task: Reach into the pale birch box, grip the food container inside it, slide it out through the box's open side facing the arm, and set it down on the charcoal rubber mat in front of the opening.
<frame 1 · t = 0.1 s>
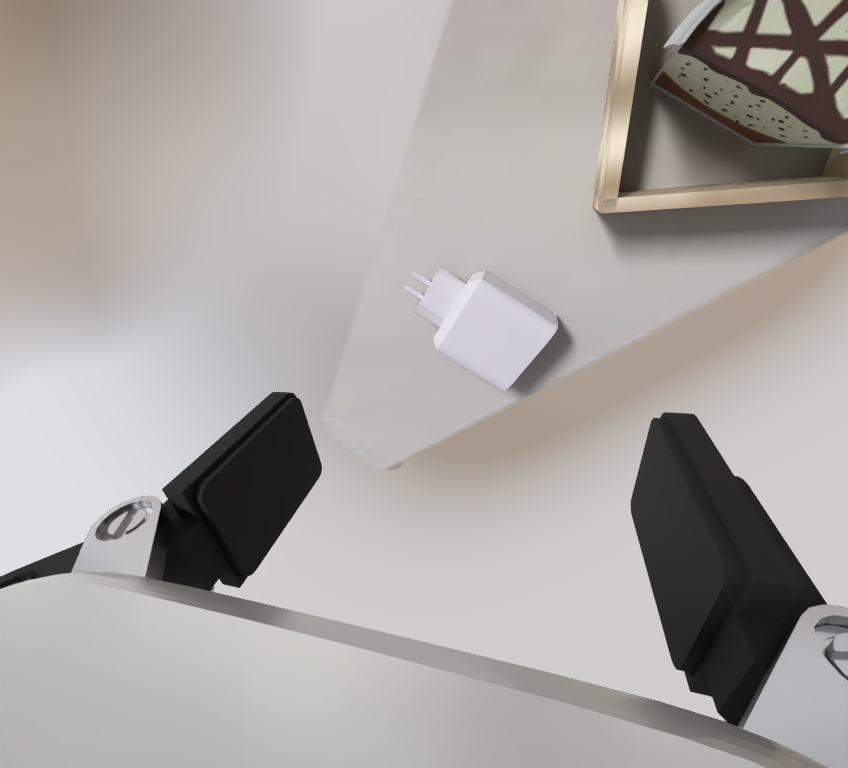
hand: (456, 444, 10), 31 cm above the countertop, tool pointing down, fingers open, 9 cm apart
food container: (736, 67, 26), on the countertop
charger: (473, 309, 41), on the countertop
open box: (734, 80, 26), on the countertop
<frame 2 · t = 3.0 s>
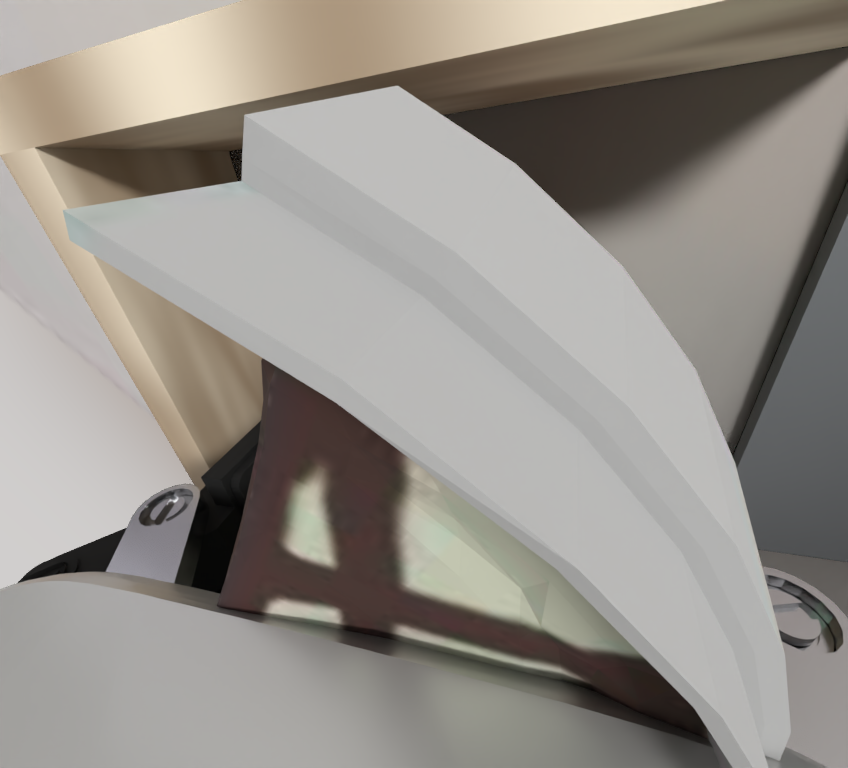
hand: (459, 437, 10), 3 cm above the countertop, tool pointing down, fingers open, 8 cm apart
food container: (490, 379, 13), on the countertop, touching gripper
open box: (468, 380, 13), on the countertop
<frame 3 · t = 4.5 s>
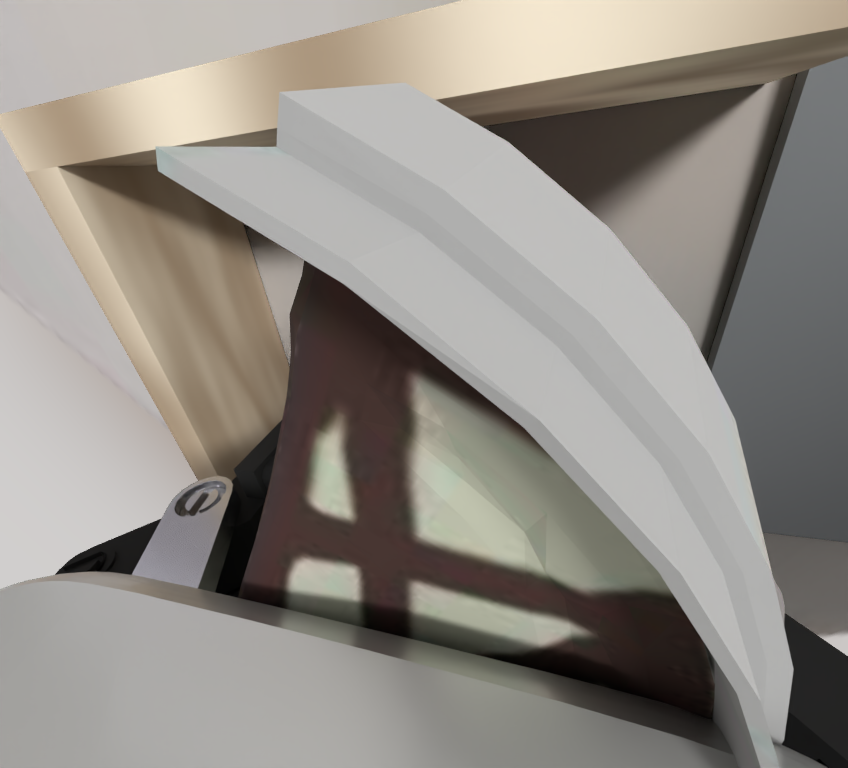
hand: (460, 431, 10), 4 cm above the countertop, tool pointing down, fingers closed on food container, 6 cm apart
food container: (510, 382, 13), on the countertop, touching gripper
open box: (445, 374, 14), on the countertop
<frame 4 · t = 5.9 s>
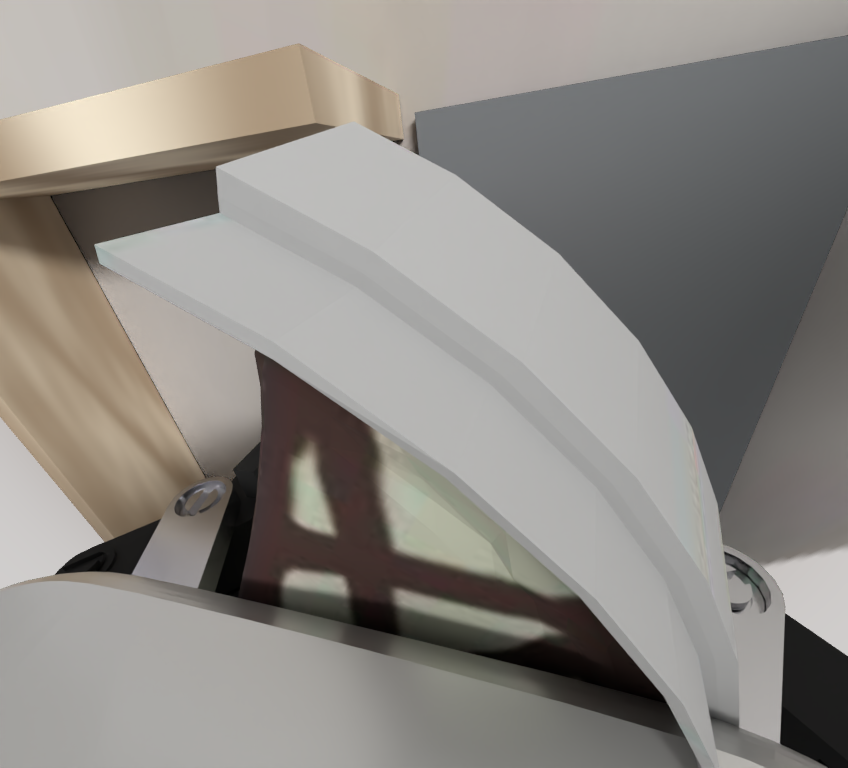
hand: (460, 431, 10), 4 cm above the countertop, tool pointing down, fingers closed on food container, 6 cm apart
mat: (590, 350, 12), on the countertop
food container: (504, 376, 13), resting on mat, touching gripper
open box: (260, 369, 16), on the countertop
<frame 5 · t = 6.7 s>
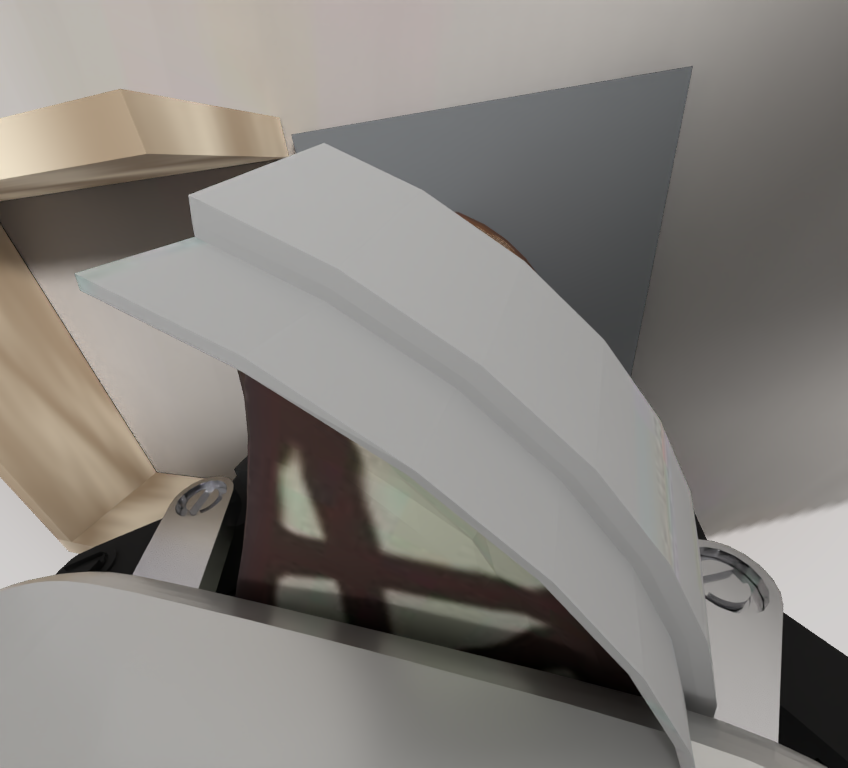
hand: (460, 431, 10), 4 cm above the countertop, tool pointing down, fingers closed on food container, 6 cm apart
mat: (475, 350, 13), on the countertop
food container: (495, 378, 13), resting on mat, touching gripper
open box: (192, 367, 17), on the countertop
when the fingers open (3 cm above the countertop, at t = 7.6 s): food container stays where it is, resting on mat.
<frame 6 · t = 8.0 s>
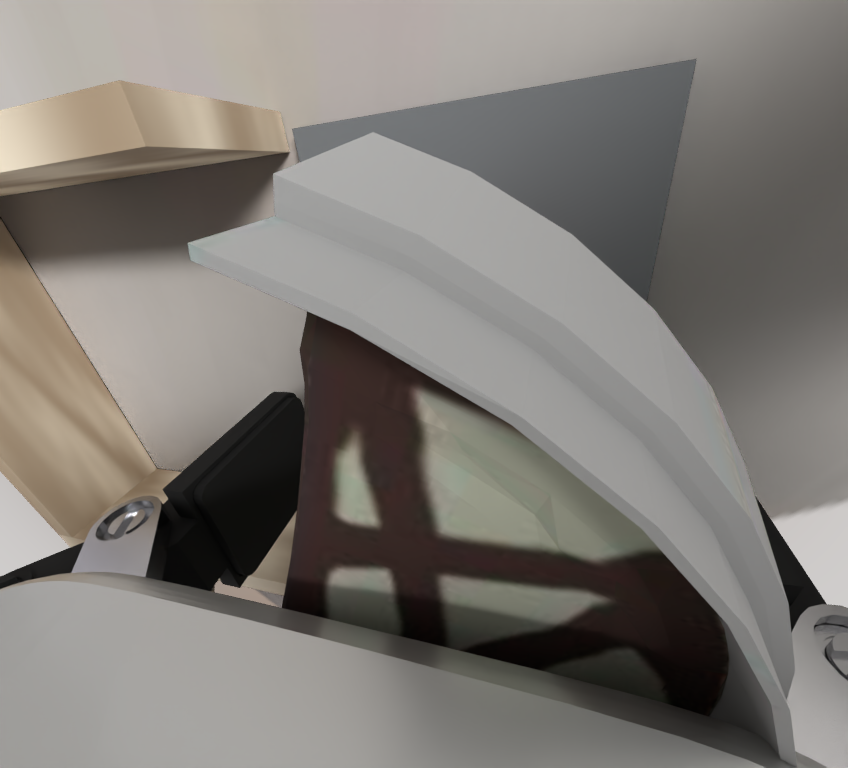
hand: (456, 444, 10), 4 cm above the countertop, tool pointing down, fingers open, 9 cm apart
mat: (475, 347, 13), on the countertop
food container: (510, 376, 13), resting on mat
open box: (192, 363, 17), on the countertop
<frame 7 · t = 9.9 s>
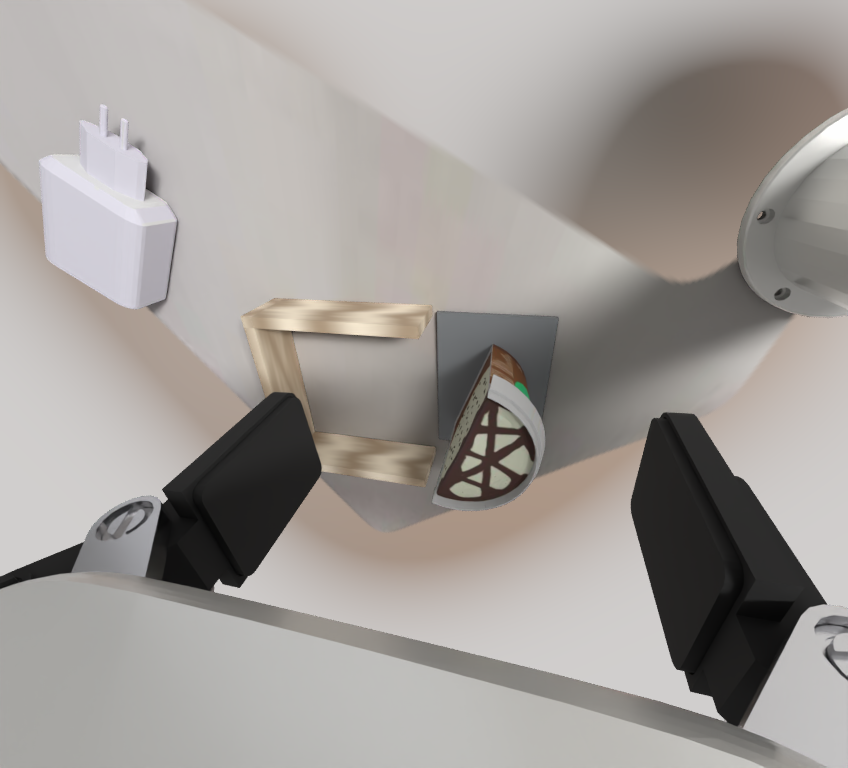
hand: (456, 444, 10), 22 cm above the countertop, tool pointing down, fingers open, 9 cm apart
mat: (490, 384, 34), on the countertop
food container: (503, 396, 34), resting on mat
charger: (138, 203, 34), on the countertop
open box: (360, 381, 38), on the countertop
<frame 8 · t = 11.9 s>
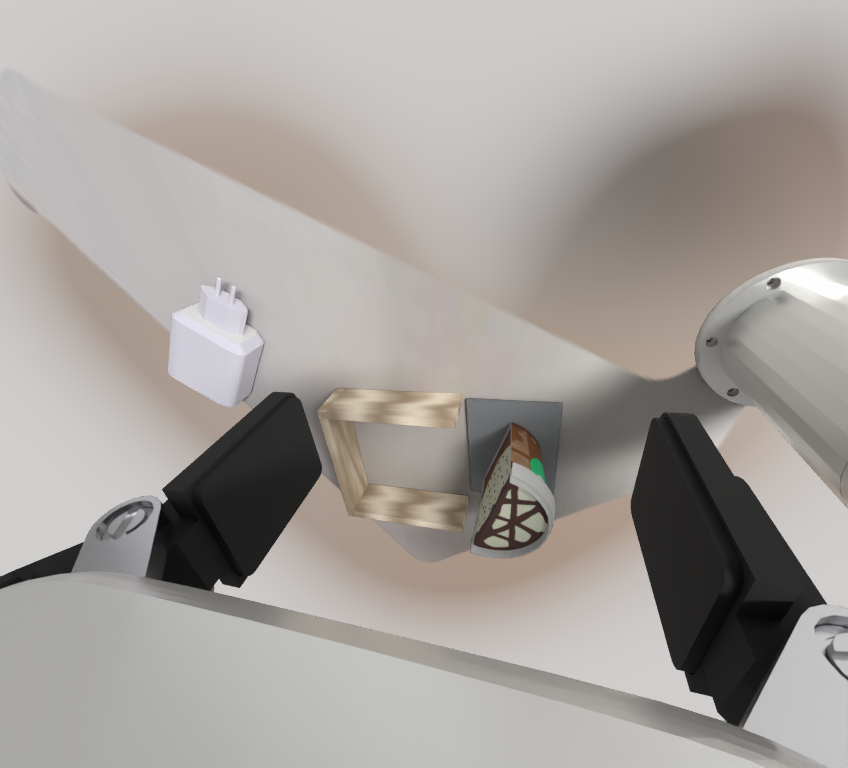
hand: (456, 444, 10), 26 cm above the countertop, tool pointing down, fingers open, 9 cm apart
mat: (511, 450, 43), on the countertop
food container: (522, 459, 43), resting on mat
charger: (233, 328, 45), on the countertop
open box: (405, 447, 47), on the countertop
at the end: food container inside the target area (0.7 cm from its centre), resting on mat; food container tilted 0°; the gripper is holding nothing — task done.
